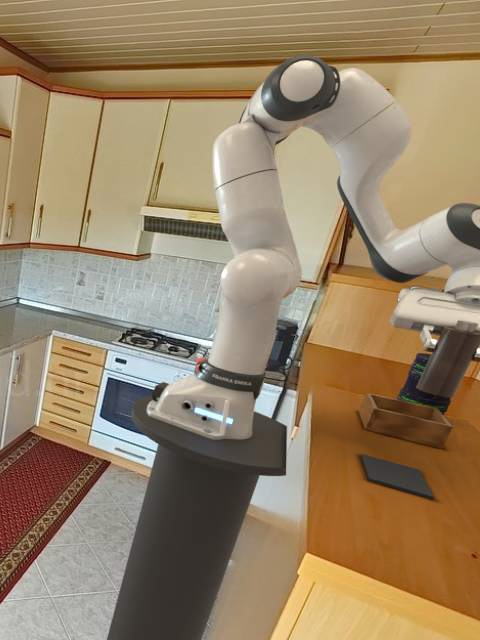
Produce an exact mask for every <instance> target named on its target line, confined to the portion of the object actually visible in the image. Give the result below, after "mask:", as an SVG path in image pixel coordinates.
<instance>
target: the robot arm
mask: <svg viewBox="0 0 480 640" xmlns="http://www.w3.org/2000/svg"><path fill="white" fill-rule="evenodd" d="M301 127H302V128H307V129H311V130H313V131H314V132H316V133H318V134H319V135H320V136H321V137H322V138H323V140H324V141H325V143H326V144H327V146H329V148H330V149H331V150H332V152H333V154H334V155H335V157H336V160H337V163H338V168H339V175H338V178H337V180H336V185H337V186H336V187H337V190H338V193H339V195H340V198H341V200H342V202H343V204H344V206H345V208H346V210H347V212H348V214H349V217H350V218H351V220H352V222H353V224H354V226H355V229H356V230H357V232H358V234H359V235H360V237H361V239H362V241H363V243H364V246H365V247H366V249H367V252H368V256H369V260H370V263H371V267H372V269H373V270H374V272H375V273H376V274H377V275H378V276H379V277H381V278H383V279H385V280H386V281H390V282H393V283H400V284H405V283H409V282H412V281H414V280H416V279H418V278H420V277H422V276H425V275H426V274H428V273H430V272H433V271H435V270H437V269H440V268H442V267H443V268H444V267H446V266H448V267H450V268H451V270H452V271H451V273H450V275H448V278H447V281H446V284H445V286H444V287H443V289H440V288H434V287H423V286H420V285H412V286H410V287H409V286H408V287H404V288H402V289H400V291H399V293H398V294H397V297H396V298H397V302H398V303H397V304H396V306H395V308H394V310H393V311H392V313H391V314H392V315H391V316H390V319H389V323H390V325H391V326H392V327H393V328H397V329H401V330H407V331H413V332H417V333H420V334H419V338H420V340H421V341H422V343H423V344H424V345H423V347H422V349H421V351H423V352H427V353H432V352H433V350H434V349H435V347H436V344H437V341H438V339H434V338H433V337H432V335H434V336H438V337H440V335H441V332H442V330H443V328H444V327H453V328H454V327H455V325H456V323H457V321H458V320H463V321H469V322H474V323H478V326H477V328H476V330H475V332H480V205H479V204H476V203H470V202H459V203H456V204H454V205H452V206H449V207H447V208H444V209H442V210H441V211H438V212H436V213H434V214H432V215H430V216H428V217H426V218H424V219H423V220H421V221H419V222H416V223H414V224H412V225H409V226H408V227H406V228H404V229H400V228H398V227H396V225H395V224H394V222H393V219H392V218H391V216H390V214H389V212H388V210H387V208H386V206H385V204H384V201H383V200H382V198H381V196H380V195H381V194H380V186H381V185H382V184H381V183H382V182H383V180H384V178H385V176H386V175H387V174H388V172H389V171H390V170H391V169H392V168H393V166H394V165H395V164H396V163H397V162H398V161H399V159H400V158H401V157H402V155H403V154H404V152H405V150H406V149H407V147H408V145H409V143H410V140H411V136H412V131H413V124H412V121H411V119H410V116H409V115H408V113H407V112H406V110H405V109H404V108H403V107H402V105H401V104H400V103H399V102H398V101H397V100H396V98H395V97H394V96H393V95H392V94H391V93H390V91H388V90H387V88H385V87H384V85H382V84H381V83H380V82H379V81H378V80H376V79H375V78H374V77H373V76H371V75H370V74H369V73H367V72H366V71H364V70H363V69H361V68H358V67H349V68H348V67H347V68H345V69H342V70H340V71H339V70H338V69H337V67H335V66H332V65H329V64H328V63H327V62H326V61H324V60H323V59H321V58H319V57H316V56H313V55H309V54H301V55H296V56H293V57H290V58H288V59H285V61H283V62H282V63H280V64H279V65H277V66H276V67H275V68H274V69H273V70H272V71H271V72H270V73H269V74H268V75H267V76H266V78H265V80H264V81H263V82H262V84H260V86H259V87H258V88H257V89H256V90H255V91H254V93H253V94H252V96H251V97H250V100H249V101H248V103H247V105H246V106H245V108H244V109H243V111H242V113H241V115H240V118H239V121H238V123H237V124H233V125H231V126H229V127H228V128H226V129H225V130H223V131H222V132H221V133H220V134H219V135H218V136H217V137H216V138H215V140H214V143H213V145H212V153H211V154H212V156H211V157H212V158H211V161H212V163H211V164H212V165H211V166H212V178H213V180H212V181H213V187H214V192H215V198H216V205H217V209H218V215H219V220H220V225H221V229H222V232H223V233H224V235H225V237H226V239H227V241H228V243H229V246H230V249H231V252H232V254H233V258H231V260H229V262H228V263H227V264H226V265H225V266H224V268H223V269H222V272H221V274H220V288H221V291H220V298H219V305H218V318H217V325H216V330H215V334H214V337H213V341H212V345H211V348H210V352H209V355H208V359H207V358H205V357H203V356H200V357H199V358H197V360H196V361H195V368H194V372H193V374H191V375H188V376H185V377H183V378H180V379H177V380H175V381H172V382H170V383H167V382H165V381H162V382H160V383H158V384H156V385H155V386H154V389H153V390H152V392H151V395H152V398H153V400H152V401H151V402H150V403H149V404H148V406H147V409H146V411H147V414H148V415H149V416H150V417H153V418H155V419H158V420H161V421H163V422H166V423H169V424H171V425H174V426H177V427H180V428H182V429H185V430H188V431H190V432H193V433H196V434H199V435H201V436H204V437H207V438H210V439H213V440H222V439H236V440H240V439H248V438H250V437H251V436H252V435H253V431H252V425H253V414H254V411H255V408H256V402H257V399H258V398H259V397H260V395H261V393H262V390H263V387H264V384H265V381H266V379H265V378H266V373H265V372H266V367H267V364H268V361H269V359H270V356H271V353H272V350H273V346H274V344H275V340H276V336H277V335H276V333H277V326H278V325H277V324H278V319H279V314H280V309H281V304H282V301H283V299H285V298H287V297H289V296H290V295H291V294H293V292H294V291H296V289H297V287H298V286H299V284H300V282H301V279H302V275H303V271H302V270H303V269H302V266H301V262H300V258H299V255H298V250H297V247H296V243H295V240H294V236H293V233H292V230H291V226H290V223H289V220H288V218H287V214H286V210H285V205H284V200H283V193H282V189H281V183H280V177H279V171H278V167H277V161H276V158H275V157H276V156H275V149H276V145H278V144H280V143H282V142H283V141H285V140H286V139H287V138H288V137H289V136H290V135H291V134H292V133H293V132H295V131H296V130H298V129H300V128H301ZM471 362H476V363H480V347H478V349H477V351H476V353H475V355H474V357H473V359H472V361H471ZM156 397H158V398H156Z"/></svg>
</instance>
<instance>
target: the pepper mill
mask: <svg viewBox="0 0 480 640" xmlns="http://www.w3.org/2000/svg"><path fill="white" fill-rule="evenodd" d="M477 326H478V323H474V322H469V321H463V320H458V321H457V323H456V325H455V327H454V328H453V327H444V328H443V330H442V332H441V335H440V336H438V339H437V340H438V341H437V344H436V347H435V349H434V350H433V352H431V353H430V354H431V356H430V358H429V361H428V363H427V365H426V367H425V369H424V371H423V374H422V376H421V378H420V380H419V382H418V384H417V387H416V388H417V389H419V390H421V391H423V392H426V393H429V394H433V395H437V396H442V397H449V398H451V399H452V398H454V397H455V396H456V393H457V391H458V389H459V387H460V386H461V383H462V381H463V380H464V377H465V375H466V373H467V371H468V369H469V368H470V365H471V363H472V362H473V361H472V359H473V357H474V355H475V353H476V351H477V349H478V348H480V332H475V330H476V328H477Z"/></svg>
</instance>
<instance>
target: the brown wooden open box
mask: <svg viewBox="0 0 480 640" xmlns="http://www.w3.org/2000/svg"><path fill="white" fill-rule="evenodd" d="M358 414H359V417H360V419H361V422H362V425H363V428H364V430H366V431H370V432H373V433H377V434H382V435H386V436H390V437H394V438H396V439H397V438H398V439H401V440H406V441H409V442H413V443H416V444H417V443H418V444H421V445H425V446H429V447H433V448H437V449H440V450H441V449H443V448H444V447H445V444H446V442H447V440H448V438H449V436H450V434H451V432H452V430H453V427H454V426H453V425H452V424H451V423H450V422H449V420H448V419H447V418H446V417H445V415H444V416H443V415H442V413H441V412H440V411H439V410H438V409H437V408H433V407H429V406H424V405H420V404H415V403H411V402H406V401H402V400H397V398H393V397H389V396H388V397H387V396H384V395H379V394H375V393H369V392H366V393H365V395H364V397H363V400H362V403H361V404H360V408H359V409H358Z"/></svg>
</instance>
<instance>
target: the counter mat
mask: <svg viewBox="0 0 480 640" xmlns="http://www.w3.org/2000/svg"><path fill="white" fill-rule="evenodd" d="M360 459H361V462H362V465H363V468H364V472H365V475H366V478H367V481H368V482H372V483H375V484H377V485H381V486H384V487H388V488H391V489H395V490H398V491H402V492H405V493H409V494H411V495H415V496H419V497H422V498H425V499H429V500H433V499H434V498H435V496H434V494H433V492H432V491H431V489H430V487H429V485H428V484H427V482H426V480H425V478H424V476H423V474H422V473H421V471H420V469H419V468H415V467H411V466H407V465H405V464H401V463H396V462H393V461H389V460H386V459H382V458H380V457H379V458H378V457H374V456H371V455H367V454H364V453H361V454H360Z"/></svg>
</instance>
